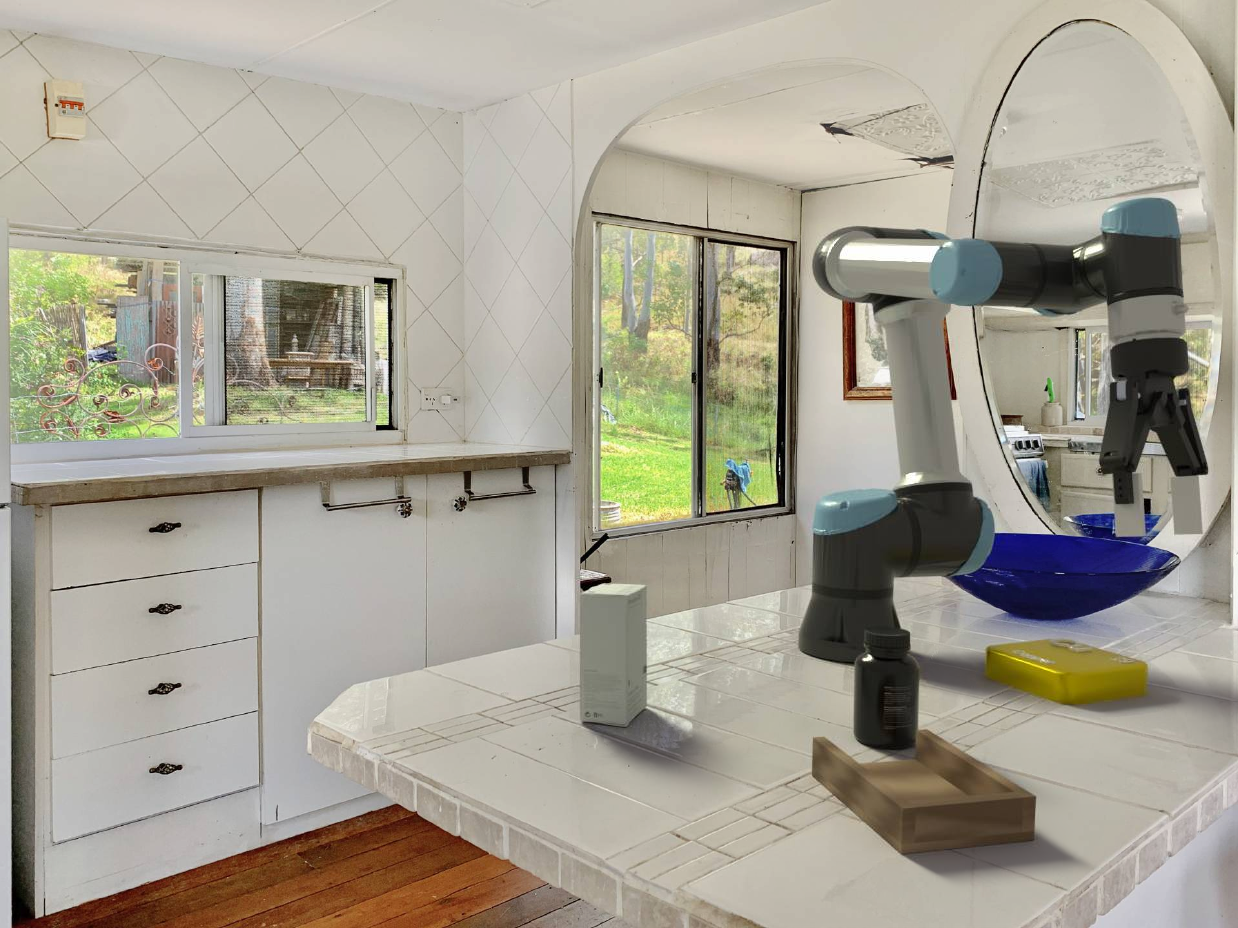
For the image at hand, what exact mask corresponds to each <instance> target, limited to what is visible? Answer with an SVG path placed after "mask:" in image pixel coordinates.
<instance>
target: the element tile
mask: <svg viewBox="0 0 1238 928" xmlns="http://www.w3.org/2000/svg"><path fill="white" fill-rule="evenodd" d="M984 655H985V656H984V657H985V659H984V676H985V677H986V678H987V679H990V680H992V681H995V682H997V683H1000V684H1002V685H1006V686H1007V687H1008V686H1009V687H1011V688H1014V689H1017V690H1020V691H1023V692H1024V693H1025V692H1026V693H1028V694H1030V695H1034V696H1036V697H1039V698H1041V699H1043V700H1047V701H1050V702H1053V703H1055V704H1059V705H1068V706H1081V705H1088V704H1094V703H1095V704H1096V703H1101V702H1108V701H1114V700H1122V699H1130V698H1135V697H1143V696H1145V695H1147V690H1148V675H1149V674H1148V673H1149V671H1148V670H1149V666H1148V663H1146V662H1145V661H1143V660H1140V659H1136V658H1132V657H1129V656H1127V655H1123V654H1121V653H1120V654H1119V653H1116V652H1112V651H1109V650H1105V649H1103V648H1098V647H1095V646H1091V645H1087V644H1084V643H1081V642H1079V641H1077V640H1075V639H1070V638H1059V637H1058V638H1057V637H1056V638H1048V639H1040V640H1029V641H1020V642H1011V643H1002V644H992V645H988V646H986V647H985V653H984Z"/></svg>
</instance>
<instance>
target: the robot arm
mask: <svg viewBox="0 0 1238 928" xmlns="http://www.w3.org/2000/svg"><path fill="white" fill-rule="evenodd" d="M1179 225H1180V224H1179V218H1178V213H1177V207H1176V205H1175V204H1174V202H1172V201H1171V200H1169V199H1166V198H1162V197H1139V198H1134V199H1130V200H1125V201H1124V200H1123V201H1121V202H1118V203H1115V204H1113V205H1111V206H1109V207H1108V208H1106V210H1105V211H1104V212H1103V213H1102V216H1101V226H1100V231H1101V234H1099V235H1097V236H1095V237H1093V238H1092V239H1090V240H1087V241H1083V242H1081V243H1078V244H1075V245H1074V244H1073V245H1064V244H1063V245H1062V244H1048V243H1047V244H1046V243H1035V242H1034V243H1032V242H1031V243H1030V242H1011V241H1003V240H1002V241H1001V240H990V239H989V240H988V239H987V240H986V239H982V238H970V237H969V238H967V237H966V238H953V239H952V238H950V237H949V236H947V235H946V234H945V233H941V232H938V231H931V230H930V231H929V230H927V229H925V228H924V229H923V228H913V229H909V228H908V229H906V228H892V227H876V226H867V225H866V226H865V225H855V226H853V225H852V226H846V227H842V228H839V229H835V230H834V231H832V232H830V233H829V234H827V235H826V236H825V237H824V238H822V239H821V241H820V242H819V243H818V245H817V246H816V248H815V251H814V253H813V256H812V260H811V261H812V264H811V269H812V274H813V277H814V280H815V282H816V284H817V286H818V287H819V288H820V289H821V290H822V291H823V292H824V293H825V294H827V295H828V296H830V297H833V298H835V299H837V300H839V301H843V302H850V303H859V304H871V305H872V312H873V313H872V314H873V315H872V316H873V321H874V322H875V323H876V324H878V325H879V326H881V327H882V328H883V329H884V331H885V341H886V351H887V352H886V353H887V360H888V361H887V362H888V370H889V378H890V379H889V380H890V381H889V382H890V389H891V397H892V398H891V399H892V400H891V401H892V409H893V415H894V416H893V417H894V429H895V434H896V437H895V438H896V443H897V444H896V445H897V454H898V456H897V457H898V464H899V465H898V466H899V473H900V474H899V475H900V479H899V481H898V482H897V483H896V484H895V485H894V486H893V488H892V489H885V488H865V489H860V488H859V489H848V490H842V491H838V492H832V493H829V494H826V495H824V496H822V497H821V498H820V499H818V501H817V503H815V506H814V507H815V508H814V514H813V523H812V527H811V528H812V529H811V530H812V569H811V570H812V572H811V577H812V579H811V581H812V582H811V596H810V599H809V602H808V605H807V608H806V610H805V614H804V616H803V618H802V621H801V623H800V627H799V631H798V636H797V638H798V642H797V644H798V645H797V646H798V649H799V650H800V651H802V652H803V653H804V654H808V655H809V656H810V655H811V656H813V657H816V658H817V657H818V658H821V659H824V660H829V661H830V660H832V661H836V662H837V661H838V662H843V663H844V662H846V663H855V660H856V658H857V657H858V656H859V655H860V654H861V653H863V652H865V651H866V648H865V647H864V641H865V629H867V628H870V627H895V628H901V629H902V626H901V623H900V620H899V617H898V612H897V608H896V605H895V602H894V590H895V589H894V583H895V578H896V579H897V578H898V579H899V578H900V579H901V578H922V577H923V578H925V577H926V578H927V577H942V578H950V577H954V576H960V575H961V576H962V575H969V574H971V573H974V572H975V571H977V570H979V569H980V568H981V567H982V566H983V565H984V564H985V562H987V558H988V557H989V556H990V555H991V552H992V549H993V545H994V542H995V534H996V531H995V530H996V525H995V524H996V523H995V518H994V514H993V511H992V510H991V508H989V507H988V506H989V505H988V503H987V502H986V501H985V500H984V499H981V498H979V497H978V496H974V490H973V489H974V488H973V482H972V480H970V479H969V478H967V477H966V476H965V475H963V474H962V472H960V471H961V470H960V463H959V453H958V446H957V438H956V429H955V428H956V427H955V422H954V421H955V420H954V413H953V410H954V409H953V404H952V403H953V401H952V394H951V387H950V379H949V369H948V360H947V353H946V351H947V350H946V344H945V342H946V341H945V335H944V326H943V320H944V319H945V317H946V316H947V315H948V314H949V313H950V312H951V310H952V305H955V306H959V307H976V306H977V307H1002V308H1003V307H1012V308H1013V307H1014V308H1021V309H1032V310H1033V311H1035V312H1037V313H1039V314H1040V315H1042V316H1043V317H1048V318H1057V317H1062V316H1064V315H1065V316H1066V315H1068V316H1070V315H1074V314H1075V315H1076V314H1077V313H1078V312H1080V313H1081V312H1083V310H1086V309H1089V308H1092V307H1095V306H1098V305H1101V304H1104V303H1106V307H1107V308H1106V309H1107V325H1108V326H1107V327H1108V331H1107V333H1108V341H1109V342H1111V343H1112V344H1114V345H1113V346H1112V347H1111V349H1110V350H1109V353H1110V369H1111V378H1113V379H1114V380H1116V381H1111V382H1110V384H1109V404H1108V408H1107V413H1106V414H1107V415H1106V419H1105V426H1104V430H1103V437H1102V442H1101V446H1100V452H1099V458H1098V464H1099V466H1100V472H1101V474H1102V475H1111V477H1112V478H1111V479H1112V480H1111V481H1112V494H1113V495H1112V496H1113V497H1112V498H1113V509H1114V510H1113V511H1114V526H1115V538H1121V537H1123V538H1124V537H1126V538H1129V537H1146V536H1147V534H1146V519H1145V517H1146V516H1145V505H1144V504H1145V503H1144V489H1143V475H1142V472H1137V473H1136V471H1137V469H1138V466H1139V463H1140V460H1141V458H1142V455H1143V452H1144V449H1145V446H1146V443H1147V439H1148V437H1149V434H1150V431H1152V432H1154V433H1156V435H1157V437H1158V440H1159V443H1160V444H1161V446H1162V449H1163V451H1164V454H1165V456H1166V457H1167V460H1168V462H1169V464H1170V467H1171V469H1172V471H1173V473H1174V476H1172V477H1170V478H1169V479H1170V489H1171V492H1170V493H1171V502H1172V503H1171V504H1172V505H1171V506H1172V507H1171V508H1172V517H1173V519H1172V521H1173V534H1174V536H1175V535H1179V536H1181V535H1203V534H1204V532H1203V521H1202V519H1203V518H1202V504H1201V503H1202V502H1201V490H1200V489H1201V487H1200V477H1199V476H1207V475H1208V474H1209V466H1208V461H1207V457H1206V454H1205V450H1204V447H1203V444H1202V443H1203V442H1202V440H1201V436H1200V433H1199V429H1198V425H1197V422H1196V418H1195V415H1194V412H1193V407H1192V401H1191V393H1190V392H1191V391H1190V390H1189V388H1188V387H1182V388H1176V385H1175V379H1176V378H1177V377H1181V376H1184V375H1186V374H1187V373H1188V372H1189V369H1190V363H1189V348H1188V341H1186V340H1185V339H1184V338H1181V337H1183V336H1184V335H1185V334H1186V332H1187V328H1186V316H1185V315H1186V313H1187V312H1188V311H1189V306H1188V305H1187V304H1185V299H1184V287H1183V271H1182V269H1183V268H1182V249H1181V246H1182V245H1181V244H1182V243H1181V239H1182V234H1181V231H1180V226H1179ZM951 304H952V305H951Z"/></svg>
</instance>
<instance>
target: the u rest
mask: <svg viewBox="0 0 1238 928" xmlns="http://www.w3.org/2000/svg"><path fill="white" fill-rule="evenodd" d="M914 752H915V753H914V758H913V759H899V760H887V761H877V762H864V763H860V762H858V761H857V760H855V759H854V758H853V757H852V756H850V754H847V753H846V752H845V751H844V750H842V749H841V748H840V747H839V746H837V745H836V744H835V743H833V742H832V741H831V740H830V739H828V738H827V737H825V736H816V737H814V736H813V737H812V753H811V756H812V759H811V760H812V761H811V776H812V777H813V778H814V779H815V780H817V781H818V782H819V783H820V784H821V785H822V786H823V787H824V788H826V790H828V791H829V792H830V793H831V794H832V795H833V796H835V797H836V798H837V799H838V800H840V802H842V803H843V805H845V806H846V807H847V808H848V809H849V810H850V811H852V812H853V813H854V814H855V815H856V816H857V817H859V818H860V819H861V820H862V821H863V823H865V824H866V825H868V826H869V827H870V828H871V829H872V830H873V831H874V832H875V833H877V834H878V835H879V836H880V837H881V838H882V839H883V840H884V841H886V842H887V844H889V845H890V846H892V847H893V848H894V850H896V851H897V852H898V853H900V855H904V854H913V853H914V854H915V853H924V852H932V851H943V850H952V849H961V848H962V849H963V848H973V847H980V846H981V847H982V846H990V845H1000V844H1011V843H1019V842H1021V843H1022V842H1028V841H1035V827H1036V808H1037V807H1036V806H1037V796H1036V795H1034V794H1033V793H1031V792H1030V791H1029V790H1027V789H1025V788H1023V787H1022V786H1020V785H1019V784H1017V783H1016V782H1014V781H1011V779H1008V777H1006V776H1004V775H1002V774H1001V773H999V772H998V771H995V770H994V769H992V768H991V767H989V766H987V765H986V764H984V763H982V762H981V761H979V760H977V759H976V758H974V757H973V756H971V755H969V754H968V753H967V752H965V751H963V750H961V749H960V748H958V747H957V746H955V745H953V744H952V743H950V742H948V741H947V740H946V739H943V738H942V737H940V736H939V735H937V734H935V733H934V732H933V731H930V730H929V729H928V728H926V729H924V728H923V729H918V730H916V743H915V751H914Z"/></svg>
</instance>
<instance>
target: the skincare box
mask: <svg viewBox="0 0 1238 928" xmlns="http://www.w3.org/2000/svg"><path fill="white" fill-rule="evenodd" d="M647 591H648V586H647V584H630V583H628V584H627V583H625V584H624V583H605V582H604V583H601V584H598V585H597V586H596V585H595V586H592V587H590V588H589V589H588V590H585V591H583V592H581V593H580V594H579V720H580V721H581V722H587V723H597V724H603V725H608V726H615V727H622V728H623V727H624V728H626V727H628V726H629V725H630V723H631V722H632V720H633V719H634V718H635V717H636V716H637V715H639V714H640V713H641V712H642V711H644V710H645V709H646V708H647V705H648V701H647V700H648V696H647V695H648V693H647V692H648V690H647V689H648V683H647V682H648V679H647V678H648V676H647V675H648V673H647V672H648V671H647V670H648V665H647V664H648V661H647V660H648V658H647V657H648V656H647V655H648V654H647V653H648V652H647V651H648V650H647V649H648V644H647V643H648V641H647V640H648V639H647V637H648V636H647V635H648V634H647V631H648V629H647V628H648V627H647V626H648V625H647V606H648V605H647V603H648V602H647V593H648V592H647Z"/></svg>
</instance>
